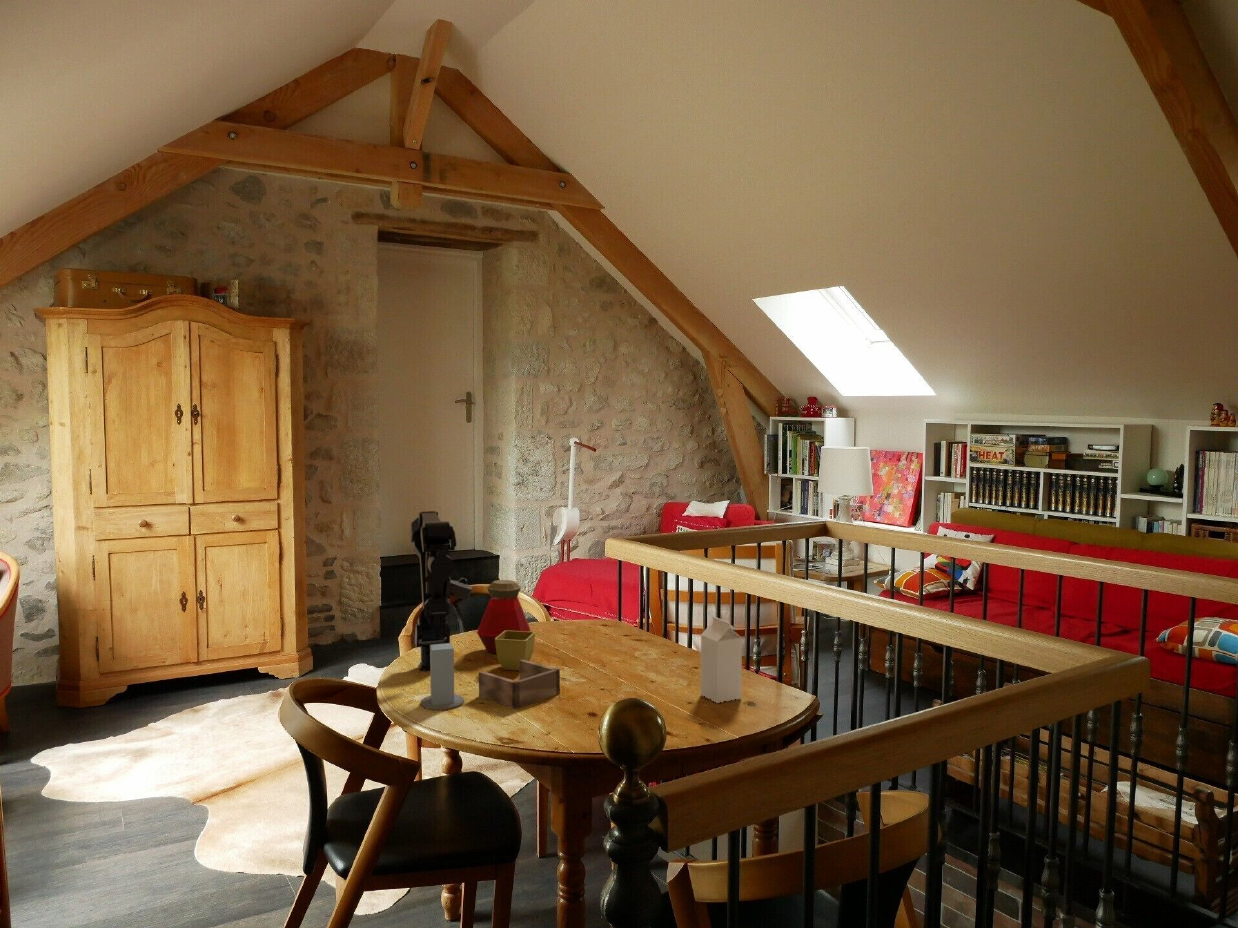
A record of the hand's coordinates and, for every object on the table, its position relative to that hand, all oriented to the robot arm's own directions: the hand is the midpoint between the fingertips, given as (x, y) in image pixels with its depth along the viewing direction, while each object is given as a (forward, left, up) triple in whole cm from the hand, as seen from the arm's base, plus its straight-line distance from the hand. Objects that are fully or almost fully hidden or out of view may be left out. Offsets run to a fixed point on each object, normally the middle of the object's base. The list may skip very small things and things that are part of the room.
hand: (438, 633), depth 227 cm
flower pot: (-10, +20, -13) cm, 26 cm away
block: (+15, +1, -12) cm, 19 cm away
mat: (+15, +1, -13) cm, 20 cm away
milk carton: (+23, +67, -13) cm, 72 cm away
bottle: (-27, +18, -13) cm, 35 cm away
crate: (+12, +19, -13) cm, 26 cm away
